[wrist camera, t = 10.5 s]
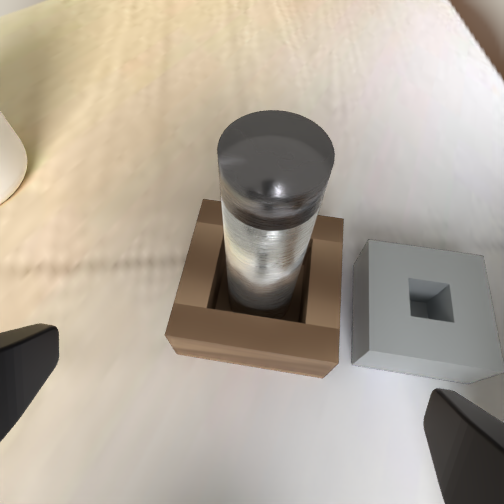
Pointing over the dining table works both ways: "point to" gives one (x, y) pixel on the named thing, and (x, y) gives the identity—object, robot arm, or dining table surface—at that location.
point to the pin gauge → (270, 205)
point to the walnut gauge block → (255, 327)
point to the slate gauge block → (424, 313)
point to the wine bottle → (10, 160)
